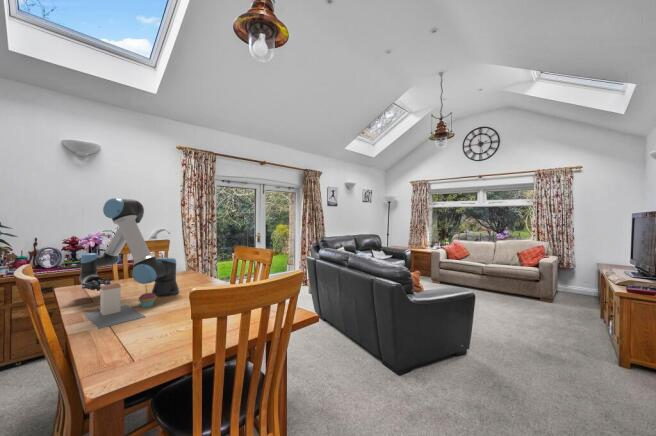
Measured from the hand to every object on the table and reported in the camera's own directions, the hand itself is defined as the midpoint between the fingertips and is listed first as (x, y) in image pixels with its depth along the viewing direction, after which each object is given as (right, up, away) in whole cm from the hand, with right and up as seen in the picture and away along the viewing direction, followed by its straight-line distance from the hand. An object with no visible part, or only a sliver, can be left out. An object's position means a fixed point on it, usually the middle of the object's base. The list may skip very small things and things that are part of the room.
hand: (105, 288), depth 143 cm
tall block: (+7, -11, -5) cm, 14 cm away
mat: (+12, -11, -9) cm, 19 cm away
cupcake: (+19, -11, +6) cm, 23 cm away
